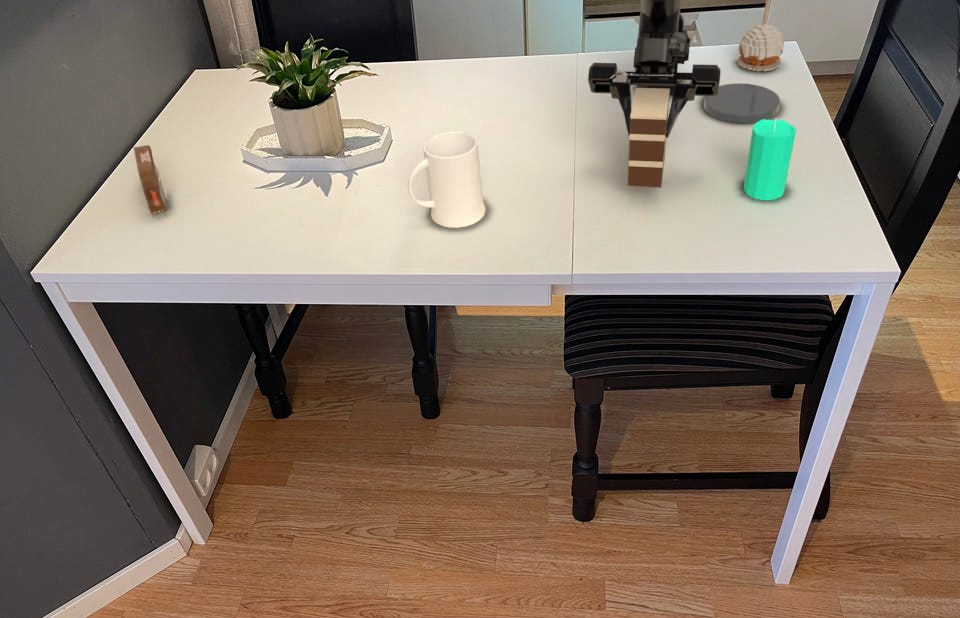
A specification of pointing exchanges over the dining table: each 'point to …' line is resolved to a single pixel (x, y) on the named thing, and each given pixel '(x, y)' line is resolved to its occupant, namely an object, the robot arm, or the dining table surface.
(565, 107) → the dining table surface
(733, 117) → the plate
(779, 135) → the candle
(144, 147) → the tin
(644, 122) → the cake slice
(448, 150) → the mug
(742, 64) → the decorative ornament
